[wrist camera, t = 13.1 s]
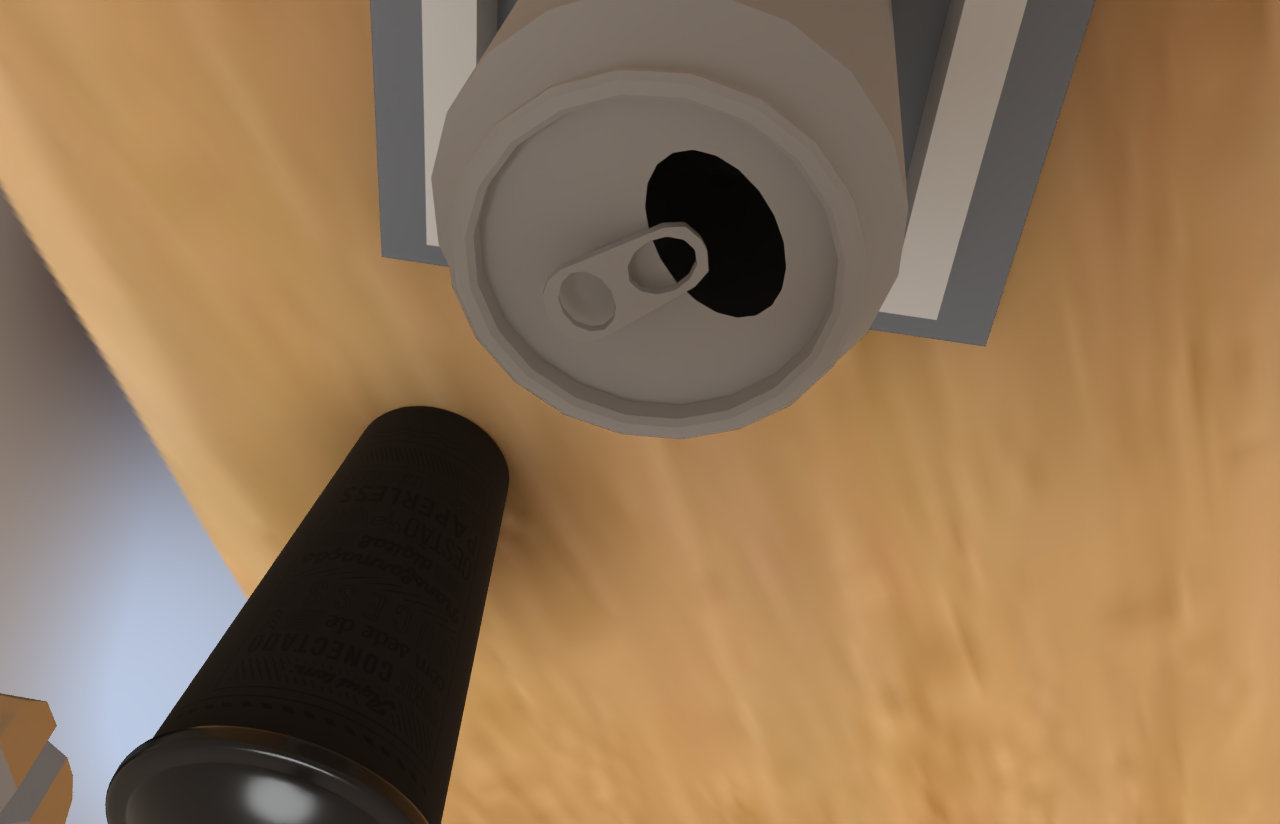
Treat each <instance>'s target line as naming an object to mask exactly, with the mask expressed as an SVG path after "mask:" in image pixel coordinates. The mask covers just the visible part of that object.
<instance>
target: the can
mask: <svg viewBox="0 0 1280 824" xmlns="http://www.w3.org/2000/svg"><path fill="white" fill-rule="evenodd" d="M431 182H432V191H433V200H434V209H435V218H436V227H437V236H438V244H439V246H440V248H441V250H442V252H443V255H444V257H445V259H446V261H447V263H448V265H449V268H450V270H451V279H452V287H453V289H454V291H455V293H456V296H457V298H458V300H459V302H460V304H461V306H462V309H463V311H464V313H465V315H466V317H467V319H468V322H469V324H470V326H471V328H472V330H473V332H474V334H475V337H476V339H477V340H478V341H479V342H480V343H481V344H482V345H483V347H484V348H485V349H486V350H487V351H488V352H489V353H490V354H491V356H492V357H493V358H494V359H495V360H496V361H497V362H498V363H499V365H500V366H501V367H502V368H503V369H504V370H505V371H506V372H507V374H508V375H509V376H510V377H511V378H512V379H513V380H514V381H515V382H516V383H517V384H519V385H520V386H522V387H523V388H525V389H526V390H528V391H529V392H531V393H532V394H534V395H535V396H537V397H539V398H540V399H542V400H543V401H545V402H546V403H548V404H549V405H551V406H552V407H554V408H555V409H557V410H558V411H560V412H562V413H563V414H565V415H567V416H570V417H573V418H576V419H579V420H582V421H585V422H588V423H590V424H593V425H596V426H599V427H602V428H605V429H608V430H611V431H614V432H617V433H620V434H625V435H637V436H649V437H661V438H673V439H685V438H691V437H697V436H703V435H709V434H715V433H721V432H727V431H732V430H738V429H741V428H743V427H745V426H747V425H750V424H752V423H754V422H756V421H758V420H760V419H762V418H764V417H767V416H769V415H771V414H773V413H775V412H777V411H779V410H781V409H783V408H786V407H788V406H790V405H792V404H793V403H794V402H795V401H796V400H797V399H798V398H799V397H800V396H802V395H803V394H804V393H805V392H806V391H807V390H808V389H809V388H810V387H811V386H812V385H813V384H815V383H816V382H817V381H818V380H819V379H820V378H821V377H822V376H823V375H824V374H825V373H827V372H828V371H829V370H830V369H831V368H832V367H833V366H834V364H835V362H836V361H837V360H838V359H839V358H840V357H841V356H842V355H844V354H845V353H846V352H847V351H848V350H849V349H850V348H851V347H852V346H853V345H854V344H856V343H857V342H858V341H859V340H860V339H861V338H862V337H863V336H864V335H865V334H866V333H867V332H868V330H869V328H870V326H871V325H872V323H873V321H874V319H875V317H876V315H877V314H878V312H879V310H880V308H881V306H882V304H883V303H884V301H885V299H886V297H887V295H888V293H889V292H890V290H891V288H892V286H893V284H894V282H895V281H896V279H897V277H898V274H899V268H900V261H901V254H902V247H903V241H904V234H905V227H906V221H907V214H908V198H907V186H906V173H905V161H904V149H903V137H902V125H901V113H900V101H899V88H898V76H897V64H896V52H895V40H894V28H893V15H892V3H891V0H518V1H517V2H516V4H515V6H514V7H513V9H512V10H511V12H510V13H509V15H508V17H507V18H506V20H505V21H504V23H503V24H502V26H501V28H500V29H499V31H498V32H497V34H496V35H495V37H494V39H493V40H492V42H491V43H490V45H489V47H488V48H487V50H486V51H485V53H484V54H483V56H482V58H481V59H480V61H479V62H478V64H477V65H476V67H475V69H474V70H473V72H472V73H471V75H470V76H469V78H468V80H467V81H466V83H465V84H464V86H463V88H462V89H461V91H460V92H459V94H458V95H457V97H456V99H455V100H454V102H453V103H452V105H451V106H450V108H449V110H448V111H447V114H446V118H445V122H444V126H443V130H442V134H441V138H440V143H439V147H438V151H437V155H436V159H435V163H434V168H433V172H432V176H431Z"/></svg>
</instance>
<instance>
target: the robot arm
mask: <svg viewBox="0 0 1280 824" xmlns="http://www.w3.org/2000/svg"><path fill="white" fill-rule="evenodd" d="M56 726H57V725H56V723H55V720H54V717H53V715H52V713H51V710H50V708H49V705H48V703H47V702H46V701H41V700H35V699H29V698H24V697H18V696H12V695H6V694H1V693H0V824H65V822H66V818H67V815H68V812H69V808H70V805H71V802H72V788H73V787H72V786H73V775H72V771H71V768H70V765H69V762H68V759H67V757H66V756H65V755H64V754H62V753H61V752H60V751H59V750H58V749H57V748H55V747H54V746H53V745H52V744H51V743H50V742H49V741H48V739H49V737H50V736H51V734H52V733H53V731H54V729H55V728H56Z"/></svg>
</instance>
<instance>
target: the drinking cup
mask: <svg viewBox="0 0 1280 824" xmlns="http://www.w3.org/2000/svg"><path fill="white" fill-rule="evenodd" d="M508 485H509V475H508V469H507V465H506V462H505V460H504V457H503V455H502V453H501V452H500V450H499V448H498V447H497V446H496V444H495V443H494V442H493V441H492V439H491V438H490V437H489V436H488V435H487V434H486V433H485V432H483V431H482V430H481V429H480V428H478V427H477V426H476V425H474V424H473V423H471V422H469V421H468V420H466V419H464V418H462V417H460V416H457V415H455V414H452V413H450V412H447V411H443V410H439V409H434V408H426V407H409V408H402V409H398V410H394V411H391V412H389V413H386V414H384V415H382V416H381V417H379V418H377V419H376V420H375V421H373V422H372V423H371V424H370V425H369V426H368V427H367V429H366V430H365V431H364V433H363V434H362V435H361V437H360V438H359V440H358V441H357V443H356V444H355V446H354V447H353V448H352V450H351V451H350V453H349V454H348V456H347V457H346V459H345V460H344V462H343V463H342V464H341V466H340V467H339V469H338V470H337V472H336V473H335V475H334V476H333V477H332V479H331V480H330V482H329V483H328V485H327V486H326V488H325V489H324V491H323V492H322V493H321V495H320V496H319V498H318V499H317V501H316V502H315V504H314V505H313V506H312V508H311V509H310V511H309V512H308V514H307V515H306V517H305V518H304V520H303V521H302V522H301V524H300V525H299V527H298V528H297V530H296V531H295V533H294V534H293V535H292V537H291V538H290V540H289V541H288V543H287V544H286V546H285V547H284V549H283V550H282V551H281V553H280V554H279V556H278V557H277V559H276V560H275V562H274V563H273V564H272V566H271V567H270V569H269V570H268V572H267V573H266V575H265V576H264V578H263V579H262V580H261V582H260V583H259V585H258V586H257V588H256V589H255V591H254V592H253V593H252V595H251V596H250V598H249V599H248V601H247V602H246V604H245V605H244V607H243V608H242V609H241V611H240V612H239V614H238V615H237V617H236V618H235V620H234V621H233V623H232V624H231V625H230V627H229V628H228V630H227V631H226V633H225V634H224V636H223V637H222V638H221V640H220V641H219V643H218V644H217V646H216V647H215V649H214V650H213V651H212V653H211V654H210V656H209V657H208V659H207V660H206V662H205V663H204V665H203V666H202V668H201V669H200V670H199V672H198V674H197V675H196V676H195V678H194V679H193V680H192V682H191V683H190V685H189V686H188V688H187V689H186V691H185V692H184V694H183V695H182V696H181V698H180V699H179V701H178V702H177V704H176V705H175V707H174V708H173V709H172V711H171V713H170V714H169V715H168V717H167V718H166V720H165V721H164V723H163V724H162V725H161V727H160V729H159V730H158V731H157V733H156V734H155V736H154V737H153V738H152V739H150V740H148V741H146V742H145V743H143V744H141V745H140V746H139V747H137V748H136V749H135V750H133V751H132V752H131V753H130V754H129V755H128V756H127V757H126V758H125V759H124V761H123V762H122V763H121V765H120V766H119V767H118V769H117V771H116V773H115V774H114V776H113V778H112V780H111V782H110V784H109V787H108V790H107V795H106V817H107V822H108V824H441V820H442V815H443V810H444V805H445V801H446V796H447V791H448V786H449V781H450V776H451V771H452V766H453V761H454V756H455V751H456V746H457V741H458V736H459V731H460V726H461V721H462V716H463V711H464V706H465V701H466V696H467V691H468V686H469V681H470V676H471V671H472V666H473V661H474V656H475V651H476V646H477V641H478V636H479V631H480V626H481V621H482V616H483V611H484V606H485V601H486V596H487V591H488V586H489V581H490V576H491V571H492V566H493V561H494V556H495V551H496V546H497V541H498V536H499V531H500V526H501V521H502V516H503V511H504V506H505V502H506V497H507V492H508Z"/></svg>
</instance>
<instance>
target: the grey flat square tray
mask: <svg viewBox="0 0 1280 824" xmlns="http://www.w3.org/2000/svg"><path fill="white" fill-rule="evenodd" d="M517 1H518V0H370V10H371V32H372V54H373V75H374V97H375V118H376V140H377V161H378V183H379V204H380V226H381V247H382V257H387V258H393V259H400V260H407V261H414V262H420V263H427V264H434V265H441V266H447V267H449V265H448V263H447V261H446V259H445V257H444V255H443V252H442V250H441V248H440V246H439V244H438V236H437V227H436V218H435V209H434V200H433V191H432V182H431V176H432V172H433V168H434V163H435V159H436V155H437V151H438V147H439V143H440V138H441V134H442V130H443V126H444V122H445V118H446V114H447V111H448V110H449V108H450V106H451V105H452V103H453V102H454V100H455V99H456V97H457V95H458V94H459V92H460V91H461V89H462V88H463V86H464V84H465V83H466V81H467V80H468V78H469V76H470V75H471V73H472V72H473V70H474V69H475V67H476V65H477V64H478V62H479V61H480V59H481V58H482V56H483V54H484V53H485V51H486V50H487V48H488V47H489V45H490V43H491V42H492V40H493V39H494V37H495V35H496V34H497V32H498V31H499V29H500V28H501V26H502V24H503V23H504V21H505V20H506V18H507V17H508V15H509V13H510V12H511V10H512V9H513V7H514V6H515V4H516V2H517ZM891 3H892V15H893V28H894V40H895V52H896V64H897V76H898V88H899V101H900V113H901V125H902V137H903V149H904V161H905V173H906V186H907V198H908V214H907V221H906V227H905V234H904V241H903V247H902V254H901V261H900V268H899V274H898V277H897V279H896V281H895V282H894V284H893V286H892V288H891V290H890V292H889V293H888V295H887V297H886V299H885V301H884V303H883V304H882V306H881V308H880V310H879V312H878V314H877V315H876V317H875V319H874V321H873V323H872V325H871V326H870V328H869V329H871V330H878V331H885V332H891V333H898V334H905V335H912V336H918V337H925V338H932V339H938V340H945V341H952V342H959V343H965V344H972V345H979V346H986V343H987V340H988V337H989V334H990V331H991V327H992V324H993V321H994V318H995V315H996V312H997V308H998V305H999V302H1000V299H1001V296H1002V293H1003V290H1004V286H1005V283H1006V280H1007V277H1008V274H1009V271H1010V268H1011V264H1012V261H1013V258H1014V255H1015V252H1016V249H1017V246H1018V242H1019V239H1020V236H1021V233H1022V230H1023V227H1024V224H1025V220H1026V217H1027V214H1028V211H1029V208H1030V205H1031V202H1032V198H1033V195H1034V192H1035V189H1036V186H1037V183H1038V180H1039V176H1040V173H1041V170H1042V167H1043V164H1044V161H1045V158H1046V154H1047V151H1048V148H1049V145H1050V142H1051V139H1052V136H1053V132H1054V129H1055V126H1056V123H1057V120H1058V117H1059V114H1060V110H1061V107H1062V104H1063V101H1064V98H1065V95H1066V91H1067V88H1068V85H1069V82H1070V79H1071V76H1072V73H1073V69H1074V66H1075V63H1076V60H1077V57H1078V54H1079V51H1080V47H1081V44H1082V41H1083V38H1084V35H1085V32H1086V29H1087V25H1088V22H1089V19H1090V16H1091V13H1092V10H1093V7H1094V3H1095V0H891Z"/></svg>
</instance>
